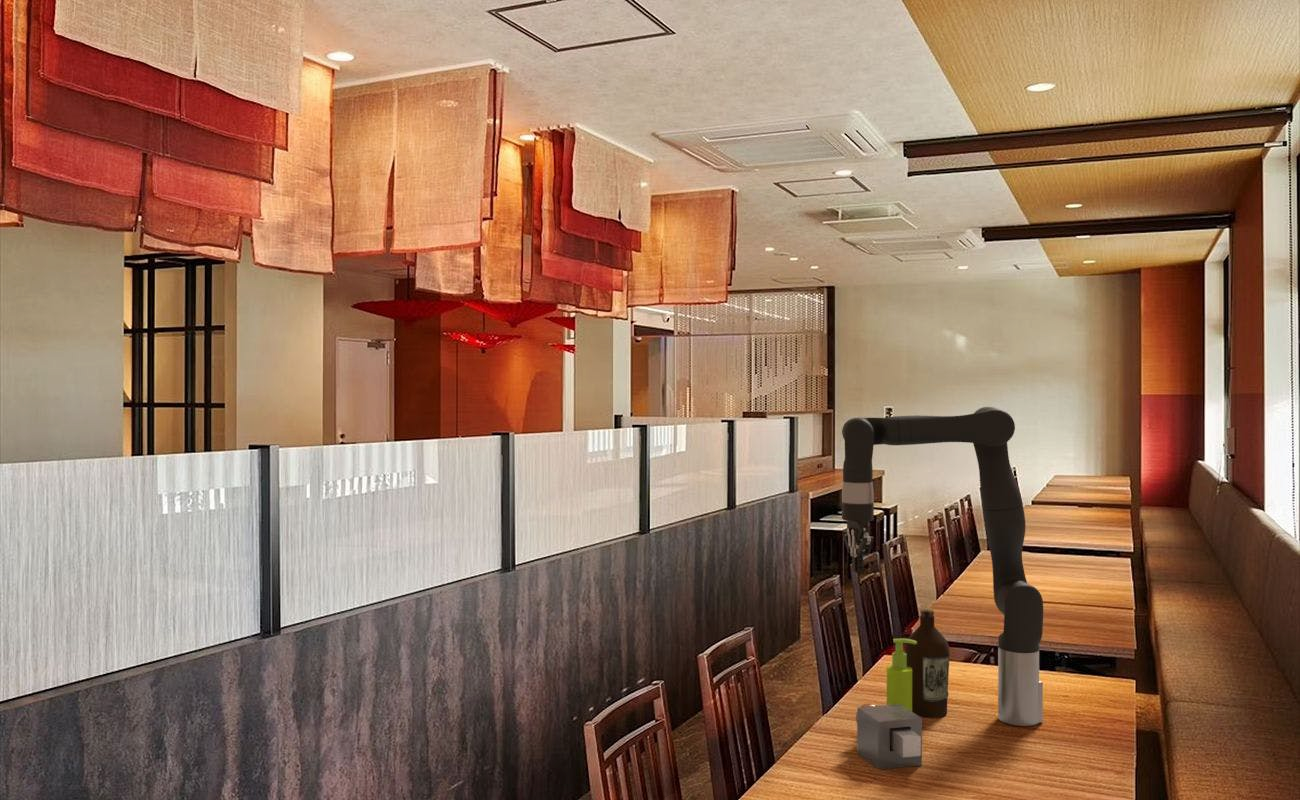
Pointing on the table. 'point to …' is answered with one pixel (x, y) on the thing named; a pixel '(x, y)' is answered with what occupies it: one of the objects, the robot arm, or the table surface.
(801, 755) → the table surface
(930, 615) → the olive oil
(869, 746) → the grey box with hole
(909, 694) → the soap dispenser
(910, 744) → the shaft
